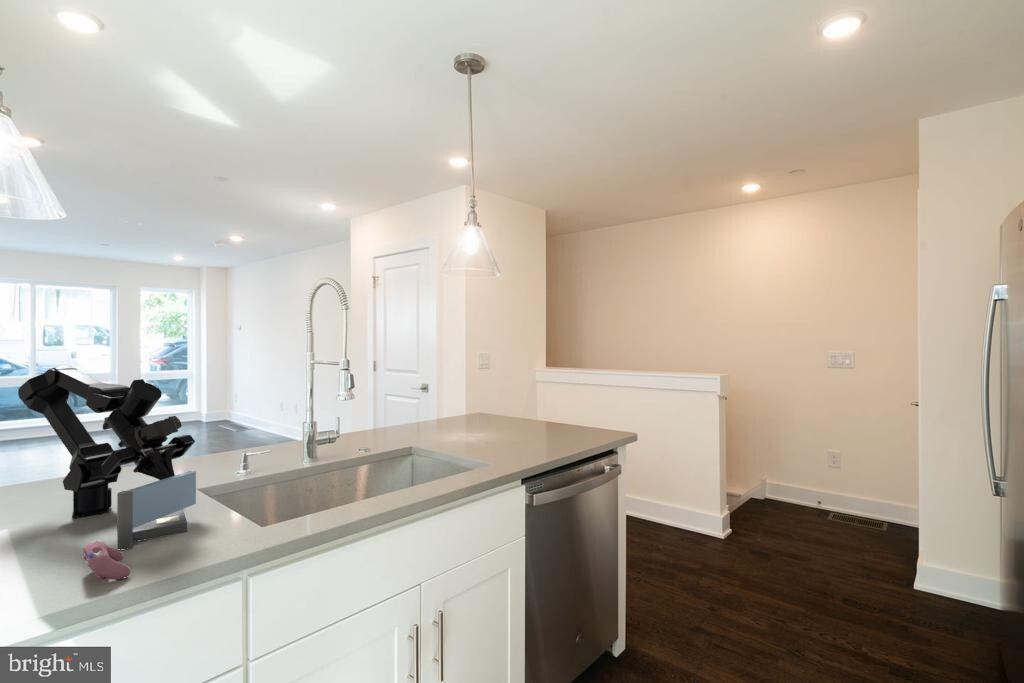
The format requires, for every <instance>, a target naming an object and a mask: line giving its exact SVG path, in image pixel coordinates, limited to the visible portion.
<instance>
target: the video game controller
mask: <svg viewBox="0 0 1024 683" xmlns="http://www.w3.org/2000/svg"><path fill="white" fill-rule="evenodd" d="M82 550H83V553H84V555H81V559H82V560H83V561H84V562H86V564H88V567H89V570H91V571H92V572H93V573H94V575H95V577H97V578H98V577H99V578H100V579H101V580H103V579H105V578H108V579H112V580H120V579H119V578H124V577H127V576H128V577H129V576H130V575H131V569H130V567H129V566H128V565H126V564H124V563H121V561H122V560H123V558H124V555H123V553H122V552H121V550H117V549H116V548H114V547H110V546H109V545H107V544H106V543H104V542H102V541H98V539H96V541H95V542H90V543H88V544H87V545H85V546H84V547H83V548H82ZM119 561H120V562H119ZM104 577H105V578H104ZM128 577H127V578H128ZM102 578H103V579H102ZM124 579H125V578H124Z"/></svg>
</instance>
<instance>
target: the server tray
mask: <svg viewBox="0 0 1024 683" xmlns="http://www.w3.org/2000/svg"><path fill="white" fill-rule="evenodd" d="M184 510H185V509H182V510H179V511H177V512H174V513H171V514H169V515H166V516H164V517H161V518H159V519H156V520H154V521H151V522H149V523H146V524H143V525H141V526H138V527H136V528H133V541H136V542H139V541H138V540H141V541H145V540H144V539H146V540H150V538H151V539H157V538H162V537H166V536H167V537H168V536H170V535H171V536H172V535H176V534H181V533H187V532H188V520H187V517H186V514H185V511H184ZM161 536H162V537H161ZM156 537H157V538H156Z"/></svg>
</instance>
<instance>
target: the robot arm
mask: <svg viewBox="0 0 1024 683" xmlns="http://www.w3.org/2000/svg"><path fill="white" fill-rule="evenodd" d="M71 393H72V394H74V395H76V396H78V397H80V398H82V399H84V400H85V406H87V407H88V408H89V409H90V410H91V411H93V412H94V413H97V414H102V413H110V414H109V415H108V416H107V417H105V418H104V423H103V424H102V430H103V431H105V430H112V431H113V432H114V434H115V435H116V436H117V437H118V438H119V440H120V441H119V442H118V444H117V445H118V447H119V448H120V449H116V450H114V449H113V447H112V445H111V444H110V443H109V442H104V443H96V441H95V440H94V439H93V437H92V435H90V433H89V432H88V430H87V429H86V427H85V426H84V425H83V423H82V422H81V420H80V418H79V417H78V416H77V415H76V413H75V412H74V411H73V409H72V407H71V406H70V405H69V402H68V400H69V397H70V394H71ZM17 394H18V398H19V399H20V400H21V402H22V403H23V404H24V405H25V406H26V407H27V408H28V409H29V410H31V411H33V412H37V413H39V414H41V415H43V416H44V418H45V419H46V421H47V422H48V423H49V425H50V427H51V428H52V429H53V431H54V432H55V433H56V435H57V436H58V438H59V440H60V441H61V442H62V443H63V446H64V447H65V448H66V450H67V451H68V453H69V454H70V456H71V460H70V464H69V466H68V469H69V472H68V473H67V474H66V475H65V477H64V478H63V480H62V485H63V488H64V490H65V491H71V492H72V501H73V502H72V508H73V509H72V514H71V518H80V517H86V516H93V515H98V514H104V513H105V514H106V513H108V512H109V510H110V508H111V507H112V504H113V503H112V500H113V499H112V498H113V495H112V494H113V492H112V487H109V484H112V483H116V482H118V478H119V475H120V473H121V471H122V469H123V468H122V466H123V465H128V464H132V463H134V466H135V467H134V469H133V470H132V471H133V473H135V474H136V473H140V474H143V475H146V476H149V477H151V478H154V479H156V480H158V481H159V480H163V479H166V478H169V477H172V476H175V471H174V465H173V461H172V460H175V459H180V458H181V457H183V456H185V454H186V453H187V452H188V451H189V449H190V448H192V446H193V445H194V444H195V442H196V440H195V439H194V438H193V436H192V435H191V434H182V435H178V436H174V437H172V439H171V440H170V441H169V442H168V443H167V444H165V445H163V443H165V442H166V441H167V440H168V439H169V437H168V436H170V435H172V434H174V433H177V432H179V429H180V428H182V426H183V425H182V423H181V420H180V419H179V418H178V417H177V416H176V415H172V416H168V417H167V418H164V419H162V420H156V421H153V422H152V423H148V424H147V422H146V421H145V420H144V417H146V416H148V415H149V414H150V412H151V411H152V410H153V409H154V407H155V405H156V404H157V403H158V401H159V400H160V399H161V397H162V395H163V393H162V390H161V389H160V388H159V387H157V386H155V385H154V384H152V383H149V382H145V380H144V379H133V381H132V382H131V383H130V386H127V385H123V384H119V383H107V382H102V381H100V380H98V379H96V378H94V377H92V376H90V375H87V374H85V373H83V372H81V371H78V369H77V368H76V367H73V366H65V367H64V366H62V367H52V368H49V369H47V370H45V372H43V373H41V374H38V375H36V376H34V377H32V378H29V379H27V380H26V381H25V382H24V383H23V384H22V385H21V386H19V388H18V390H17ZM92 514H93V515H92Z"/></svg>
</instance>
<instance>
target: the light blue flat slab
mask: <svg viewBox="0 0 1024 683" xmlns="http://www.w3.org/2000/svg"><path fill="white" fill-rule="evenodd" d="M116 499H117V500H116V501H117V504H116V505H117V506H116V507H117V508H116V510H117V515H116V516H117V517H116V518H117V519H116V521H117V522H116V523H117V524H116V525H117V526H116V527H117V531H116V532H117V537H116V540H117V541H116V548H117V549H120V550H119V551H122V550H121V549H126V550H128V549H127V548H130V547H132V546H134V544H133V543H134V542H133V528H136V527H138V526H141V525H143V524H146V523H149V522H151V521H154V520H156V519H159V518H161V517H164V516H166V515H169V514H171V513H174V512H177V511H179V510H182V509H183V510H185V509H186V508H189V507H191V506H194V505H196V504H197V470H195V471H194V470H189V471H188V470H187V471H186V472H182V473H179V474H176V475H175V476H172V477H169V478H166V479H163V480H159V479H158V480H157V481H153V482H150V483H147V484H144V485H140V486H138V487H134V488H131V489H127V490H122V491H119V492H117V494H116ZM132 548H133V547H132ZM130 549H131V548H130Z"/></svg>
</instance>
